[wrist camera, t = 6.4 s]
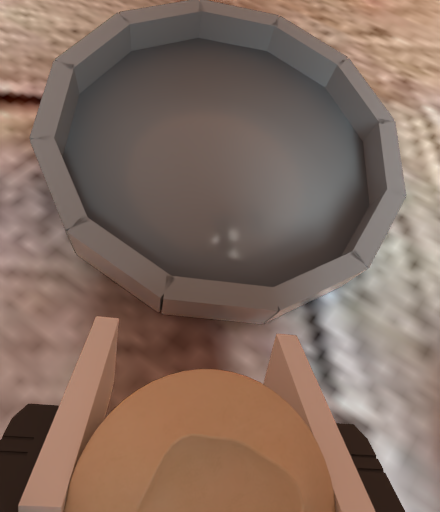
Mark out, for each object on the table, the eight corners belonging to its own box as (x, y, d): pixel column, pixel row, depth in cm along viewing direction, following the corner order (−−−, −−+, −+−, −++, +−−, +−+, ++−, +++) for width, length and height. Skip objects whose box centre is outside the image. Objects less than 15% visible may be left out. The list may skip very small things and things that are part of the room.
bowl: (362, 69, 26) (382, 36, 24) (392, 337, 19) (425, 326, 17) (87, 16, 24) (80, -27, 22) (7, 298, 17) (-16, 280, 15)
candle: (92, 417, 16) (13, 418, 7) (220, 374, 17) (301, 324, 8) (125, 575, 14) (82, 872, 5) (264, 511, 15) (431, 648, 6)
